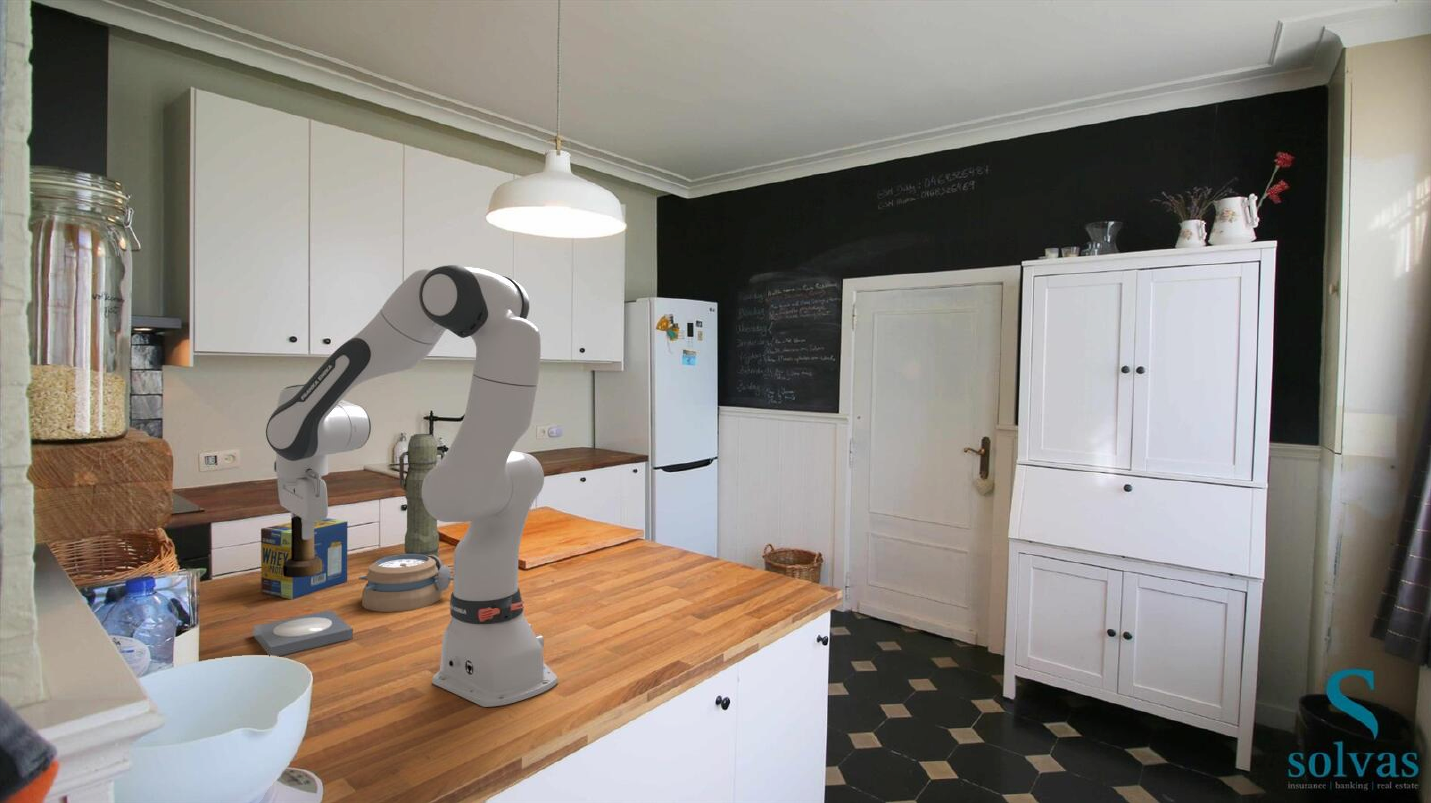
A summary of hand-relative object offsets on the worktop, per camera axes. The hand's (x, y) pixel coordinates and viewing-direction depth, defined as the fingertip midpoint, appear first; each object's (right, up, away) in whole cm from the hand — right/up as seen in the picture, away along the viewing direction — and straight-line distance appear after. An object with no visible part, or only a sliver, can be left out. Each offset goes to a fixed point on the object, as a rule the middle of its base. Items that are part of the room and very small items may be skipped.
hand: (302, 536), depth 136 cm
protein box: (-18, -19, +31) cm, 41 cm away
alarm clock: (+11, -20, +26) cm, 35 cm away
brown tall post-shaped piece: (0, -8, 0) cm, 8 cm away
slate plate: (0, -20, +1) cm, 20 cm away
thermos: (-2, -18, +59) cm, 62 cm away
